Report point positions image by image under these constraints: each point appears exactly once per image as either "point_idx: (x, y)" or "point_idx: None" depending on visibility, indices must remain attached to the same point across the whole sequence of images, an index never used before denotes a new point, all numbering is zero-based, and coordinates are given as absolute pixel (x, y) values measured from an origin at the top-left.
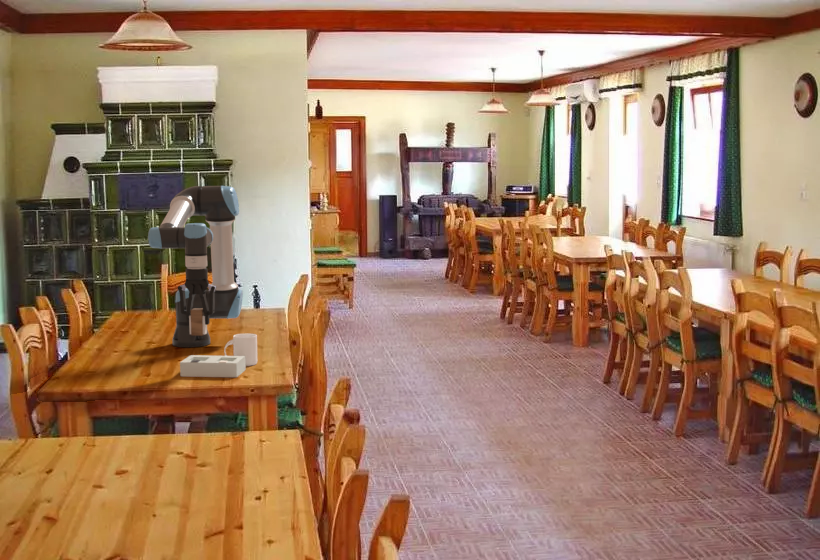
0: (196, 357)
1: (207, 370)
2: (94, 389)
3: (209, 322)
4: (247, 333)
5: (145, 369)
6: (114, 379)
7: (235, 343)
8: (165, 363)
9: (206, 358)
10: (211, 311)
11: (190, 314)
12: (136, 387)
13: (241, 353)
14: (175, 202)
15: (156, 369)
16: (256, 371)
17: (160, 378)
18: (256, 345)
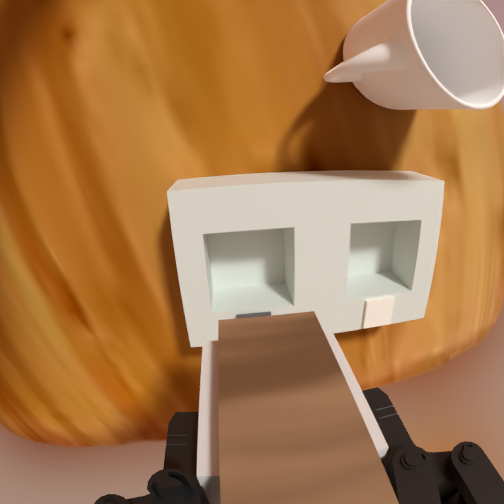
0: (219, 232)
1: None
2: (69, 435)
3: (387, 397)
4: None
5: (19, 226)
6: (32, 362)
7: (413, 87)
8: (35, 107)
9: (273, 226)
10: (447, 496)
11: (205, 502)
12: (142, 427)
13: (415, 108)
14: None
15: (50, 218)
16: (446, 195)
17: (141, 346)
18: (477, 66)
